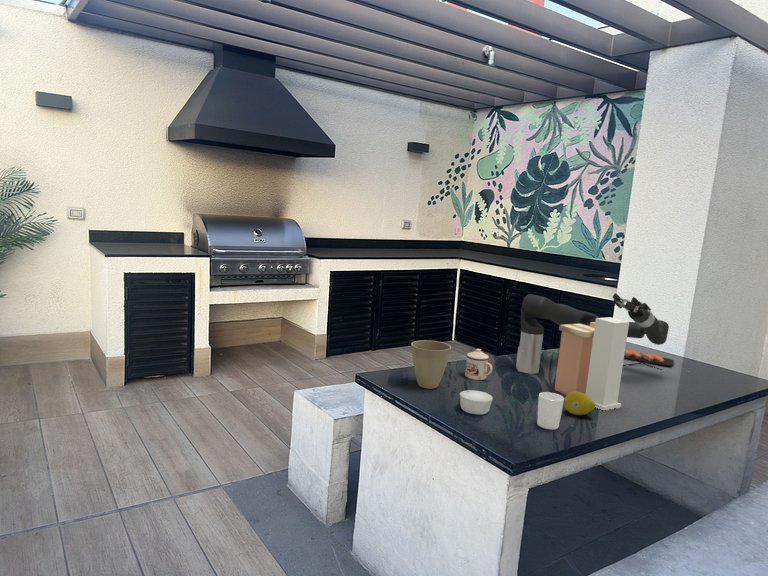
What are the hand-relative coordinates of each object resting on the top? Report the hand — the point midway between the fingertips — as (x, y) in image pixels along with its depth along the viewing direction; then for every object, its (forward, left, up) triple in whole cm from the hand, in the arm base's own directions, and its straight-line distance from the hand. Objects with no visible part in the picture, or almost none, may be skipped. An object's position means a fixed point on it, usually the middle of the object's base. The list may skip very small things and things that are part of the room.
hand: (623, 297), depth 226 cm
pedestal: (-13, -27, -37) cm, 47 cm away
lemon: (-25, -40, -37) cm, 60 cm away
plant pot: (-77, -24, -37) cm, 89 cm away
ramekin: (-61, -45, -37) cm, 84 cm away
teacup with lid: (-56, -8, -37) cm, 67 cm away
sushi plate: (+27, +42, -38) cm, 63 cm away
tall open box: (-20, -16, -37) cm, 45 cm away
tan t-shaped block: (-15, -13, -13) cm, 24 cm away
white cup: (-38, -53, -37) cm, 75 cm away
